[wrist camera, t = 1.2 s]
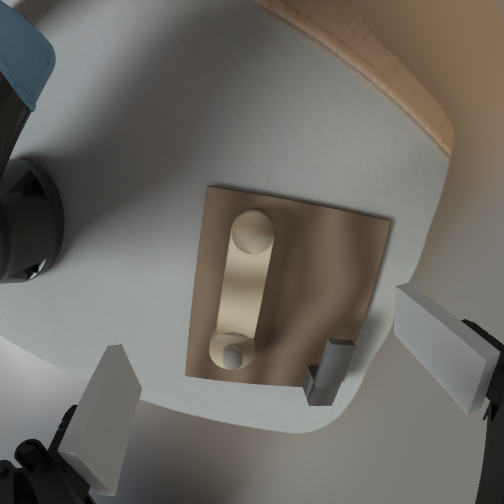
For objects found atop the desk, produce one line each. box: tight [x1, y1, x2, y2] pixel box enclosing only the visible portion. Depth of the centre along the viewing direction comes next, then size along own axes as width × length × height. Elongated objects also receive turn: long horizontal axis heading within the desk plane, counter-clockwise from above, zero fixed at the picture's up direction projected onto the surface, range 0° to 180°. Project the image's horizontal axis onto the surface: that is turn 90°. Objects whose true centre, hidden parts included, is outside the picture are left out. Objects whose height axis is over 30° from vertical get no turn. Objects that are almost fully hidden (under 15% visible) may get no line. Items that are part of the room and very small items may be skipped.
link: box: [209, 209, 274, 370], centre depth 31 cm, size 18×5×4 cm, turn 170°
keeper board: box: [185, 186, 391, 406], centre depth 33 cm, size 20×23×5 cm
